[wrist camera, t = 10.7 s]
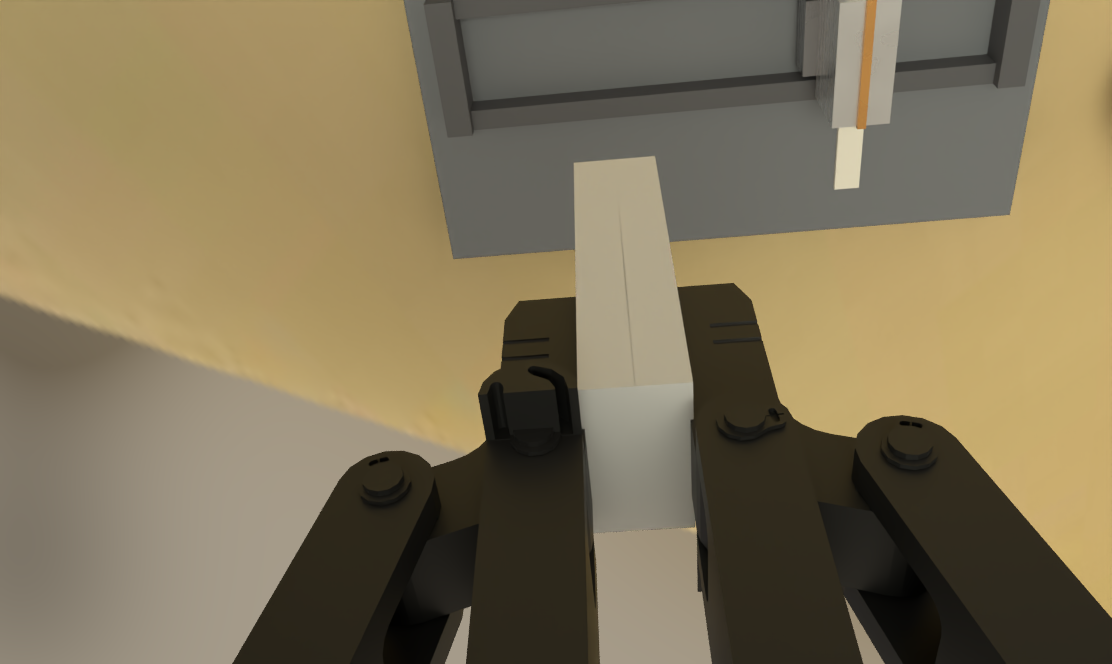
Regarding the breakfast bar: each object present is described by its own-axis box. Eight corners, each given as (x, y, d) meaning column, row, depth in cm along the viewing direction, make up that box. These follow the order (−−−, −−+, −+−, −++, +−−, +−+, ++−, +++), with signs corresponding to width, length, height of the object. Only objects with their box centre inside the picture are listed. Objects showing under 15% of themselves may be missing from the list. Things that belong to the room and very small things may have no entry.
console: (458, 236, 45) (449, 277, 42) (375, -205, 34) (357, -191, 31) (993, 192, 43) (1022, 232, 40) (1077, -287, 32) (1124, -280, 30)
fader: (794, 84, 38) (818, 132, 34) (799, -35, 35) (825, 4, 32) (872, 76, 38) (905, 125, 34) (883, -43, 35) (919, -5, 31)
